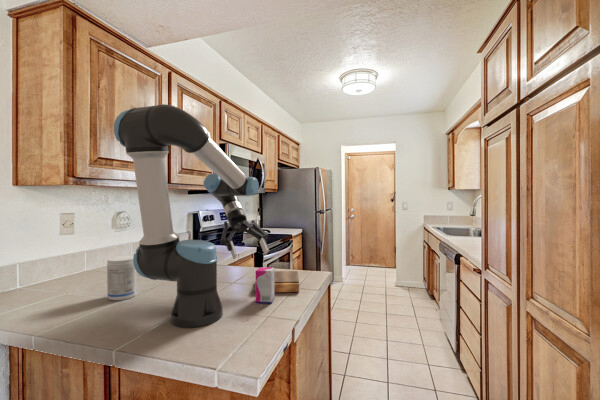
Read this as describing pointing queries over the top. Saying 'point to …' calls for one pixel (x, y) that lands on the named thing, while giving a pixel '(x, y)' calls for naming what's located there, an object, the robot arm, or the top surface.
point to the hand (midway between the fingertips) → (251, 254)
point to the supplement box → (265, 285)
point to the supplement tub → (121, 278)
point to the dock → (285, 281)
